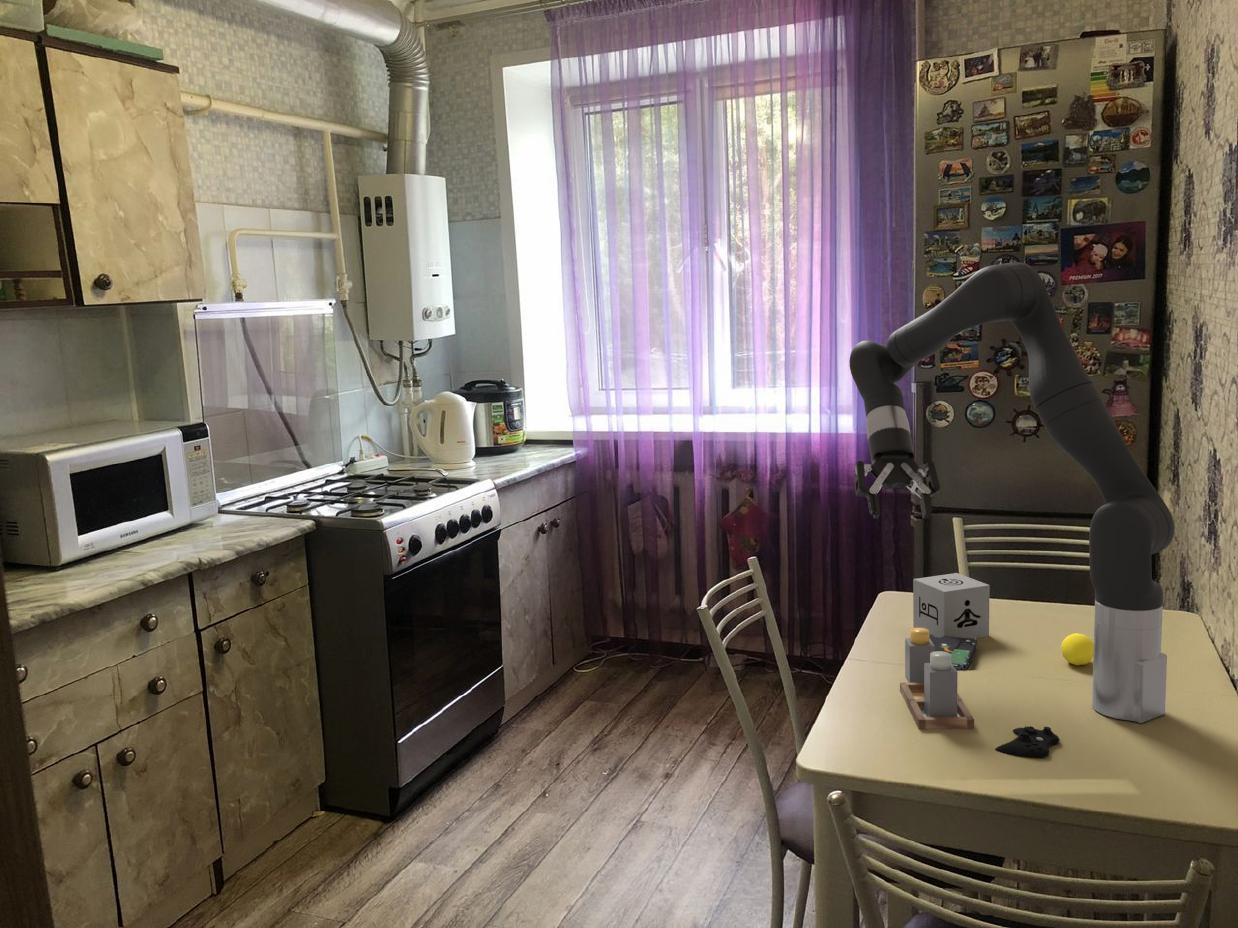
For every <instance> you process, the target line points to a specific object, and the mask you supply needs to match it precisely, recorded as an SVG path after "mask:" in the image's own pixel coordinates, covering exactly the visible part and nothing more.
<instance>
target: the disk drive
mask: <svg viewBox="0 0 1238 928" xmlns="http://www.w3.org/2000/svg"><path fill="white" fill-rule="evenodd" d="M929 638H930V640H931V641H932V643H933V644H934V646H935V651H943V652H947V653H950V654H951V663H952V665H953V666H954V668H955V669H956V671H957V672H959V671H964V672H967V671H969V670H970V668H971V665H972V663H973V660H974V658H975V656H976V654H977V651H978V639H977V638H973V639H971V638H960V637H951V636H944V637H940V638H938V637H934V636H933V635H932V634H929Z"/></svg>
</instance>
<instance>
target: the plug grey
mask: <svg viewBox="0 0 1238 928" xmlns="http://www.w3.org/2000/svg"><path fill="white" fill-rule="evenodd" d="M957 693H958V671H956V669H955V668H954V666H953V665H952V663H951V654H950V653H947V652H943V651H935V652H932V653H930V663H924V713H925V715H926V717H957Z"/></svg>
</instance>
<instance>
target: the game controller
mask: <svg viewBox="0 0 1238 928" xmlns="http://www.w3.org/2000/svg"><path fill="white" fill-rule="evenodd" d="M1012 733H1013V734H1014V735H1016V736H1017V737H1016V738H1014V739H1013V740H1010V741H1009V742H1006V743H1003V744H1000V745H999V746H997V747H995V749H994V751H995V752H998V753H1001V754H1004V755H1005V754H1006V755H1009V756H1012V757H1016V758H1017V757H1018V758H1026V759H1045V758H1046V757H1048V756H1049V753H1050V750H1049V749H1050V748H1051V747H1053V746H1056V745H1057V744H1058V743H1060V740H1061V739H1060V737H1059V736H1058V735H1057V734H1056V733H1054V732H1053V730H1052V728H1051V727H1050V726H1044V727H1043V728H1042V729H1037V728H1036V727H1034V726H1031V725H1030V726H1024V727H1016V728H1014V729H1012Z"/></svg>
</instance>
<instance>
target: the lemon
mask: <svg viewBox="0 0 1238 928" xmlns="http://www.w3.org/2000/svg"><path fill="white" fill-rule="evenodd" d="M1060 652H1061V654H1062V657H1063V658H1064V659H1065V660H1066V661H1067V662H1068V663H1069V664H1072V665H1075V666H1078V667H1079V666H1082V665H1083V666H1084V665H1087V664H1088V663H1090V662H1091V661H1092V660H1093V656H1094V641H1093V640H1092V639H1091V638H1090V637H1088V636H1087V635H1085V634H1083V633H1077V632H1076V633H1071V634H1069V635H1067V636H1066V637H1065V638H1064V640H1062V642H1061V645H1060Z"/></svg>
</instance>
